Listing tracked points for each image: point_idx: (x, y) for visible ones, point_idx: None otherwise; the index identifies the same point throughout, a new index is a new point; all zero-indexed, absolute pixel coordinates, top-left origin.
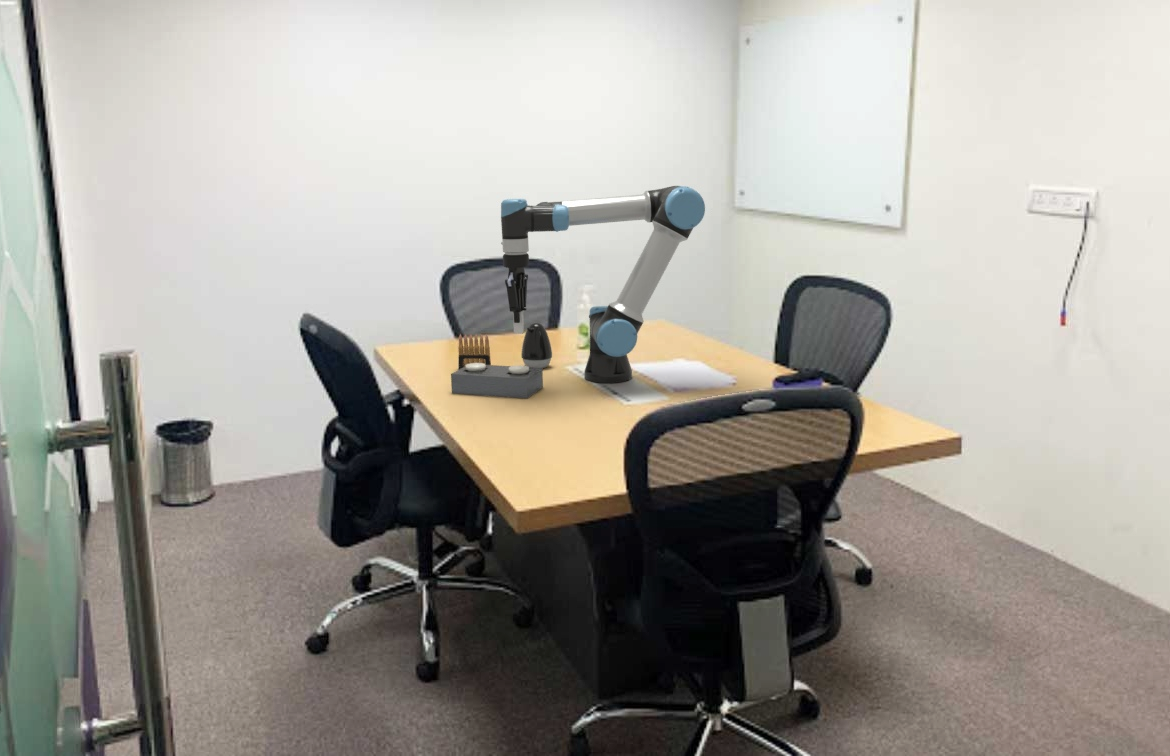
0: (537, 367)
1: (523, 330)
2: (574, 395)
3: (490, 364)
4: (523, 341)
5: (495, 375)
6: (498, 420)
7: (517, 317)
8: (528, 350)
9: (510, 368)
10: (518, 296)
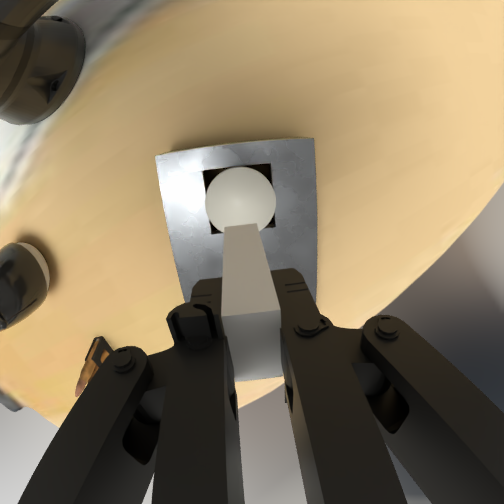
0: (42, 256)
1: (236, 231)
2: (221, 39)
3: (92, 344)
4: (21, 320)
5: (303, 246)
6: (451, 141)
7: (309, 298)
8: (33, 292)
9: (262, 223)
10: (392, 480)
